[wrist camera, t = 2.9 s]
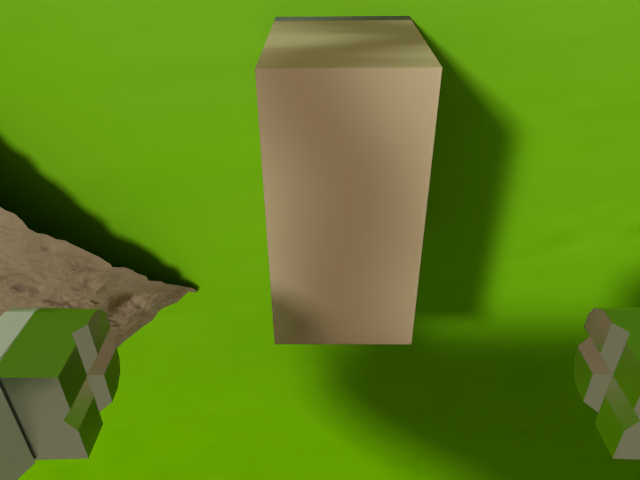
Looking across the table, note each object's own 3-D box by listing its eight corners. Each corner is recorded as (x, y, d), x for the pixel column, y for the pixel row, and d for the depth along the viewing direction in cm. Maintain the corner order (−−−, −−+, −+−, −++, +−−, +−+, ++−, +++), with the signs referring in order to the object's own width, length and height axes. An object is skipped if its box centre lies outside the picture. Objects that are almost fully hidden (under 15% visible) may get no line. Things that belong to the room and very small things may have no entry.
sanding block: (408, 15, 14) (442, 67, 10) (392, 239, 18) (411, 344, 14) (276, 16, 14) (254, 68, 10) (287, 239, 18) (274, 343, 14)
